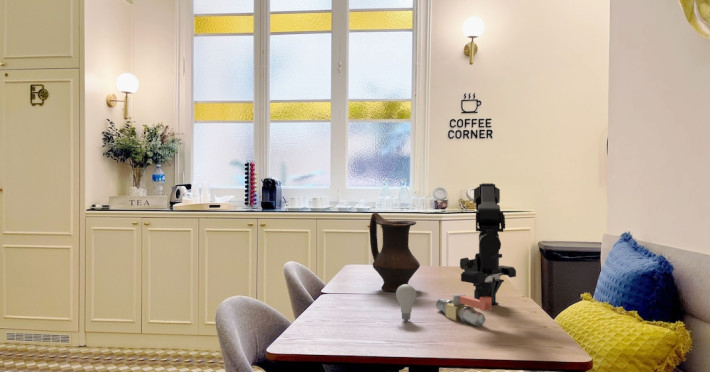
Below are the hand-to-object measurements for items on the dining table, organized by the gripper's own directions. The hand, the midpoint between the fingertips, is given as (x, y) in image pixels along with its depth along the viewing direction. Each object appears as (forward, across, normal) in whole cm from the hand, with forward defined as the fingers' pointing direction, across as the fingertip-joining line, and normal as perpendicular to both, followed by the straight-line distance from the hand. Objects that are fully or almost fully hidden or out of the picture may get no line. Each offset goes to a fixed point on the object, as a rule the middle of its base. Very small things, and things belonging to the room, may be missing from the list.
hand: (489, 303), depth 162 cm
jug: (+7, -16, -59) cm, 61 cm away
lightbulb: (+6, +16, -18) cm, 25 cm away
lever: (+2, +2, -5) cm, 6 cm away
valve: (+6, +1, -11) cm, 12 cm away
